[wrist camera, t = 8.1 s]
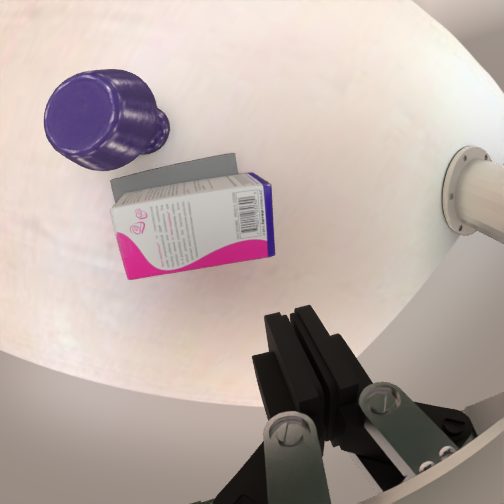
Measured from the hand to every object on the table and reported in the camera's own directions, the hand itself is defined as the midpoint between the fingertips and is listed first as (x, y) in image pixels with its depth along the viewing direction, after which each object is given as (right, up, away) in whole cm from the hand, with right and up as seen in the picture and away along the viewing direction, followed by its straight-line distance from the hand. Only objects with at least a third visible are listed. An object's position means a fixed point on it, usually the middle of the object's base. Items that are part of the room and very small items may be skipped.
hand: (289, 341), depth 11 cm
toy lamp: (-10, +14, +12) cm, 21 cm away
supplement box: (0, +7, +14) cm, 15 cm away
